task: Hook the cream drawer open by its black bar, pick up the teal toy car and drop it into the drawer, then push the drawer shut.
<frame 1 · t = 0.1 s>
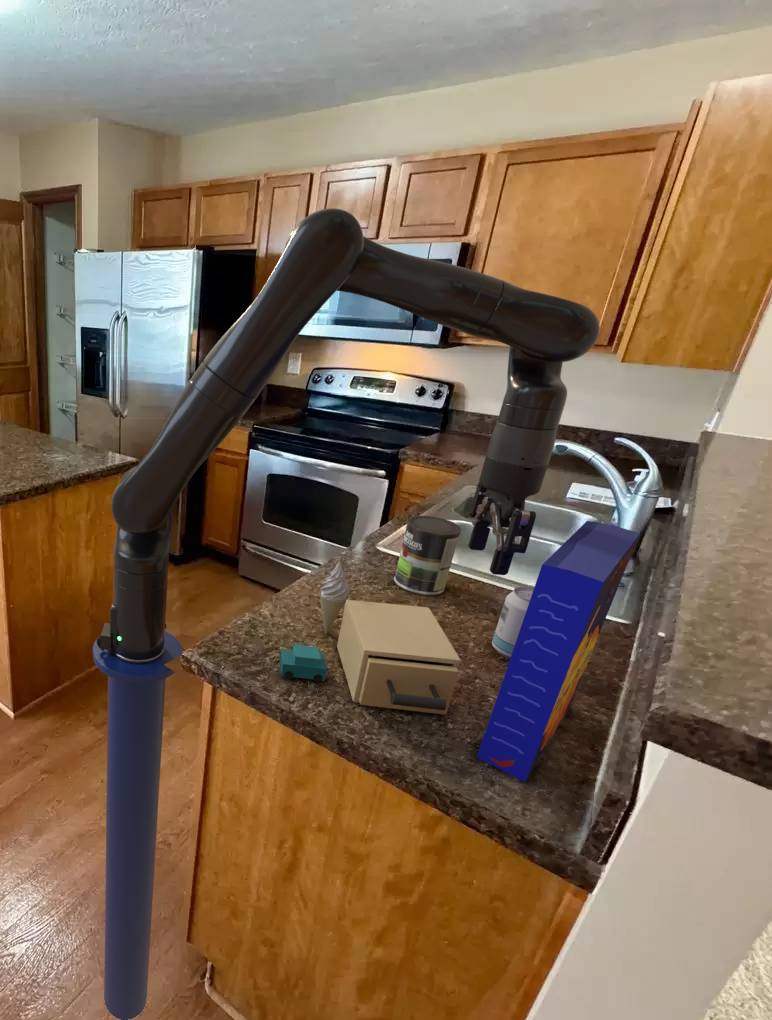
hand: (486, 561, 89), 22 cm above the counter, tool pointing down, fingers open, 8 cm apart
drawer: (400, 669, 93), point 5 cm above the counter, slide at 0.5 cm
ice cream cone: (326, 633, 111), on the counter
cabinet: (386, 676, 99), on the counter
toy car: (301, 672, 99), on the counter
coffee can: (418, 584, 130), on the counter
cereal box: (524, 733, 87), on the counter
beverage can: (512, 654, 106), on the counter
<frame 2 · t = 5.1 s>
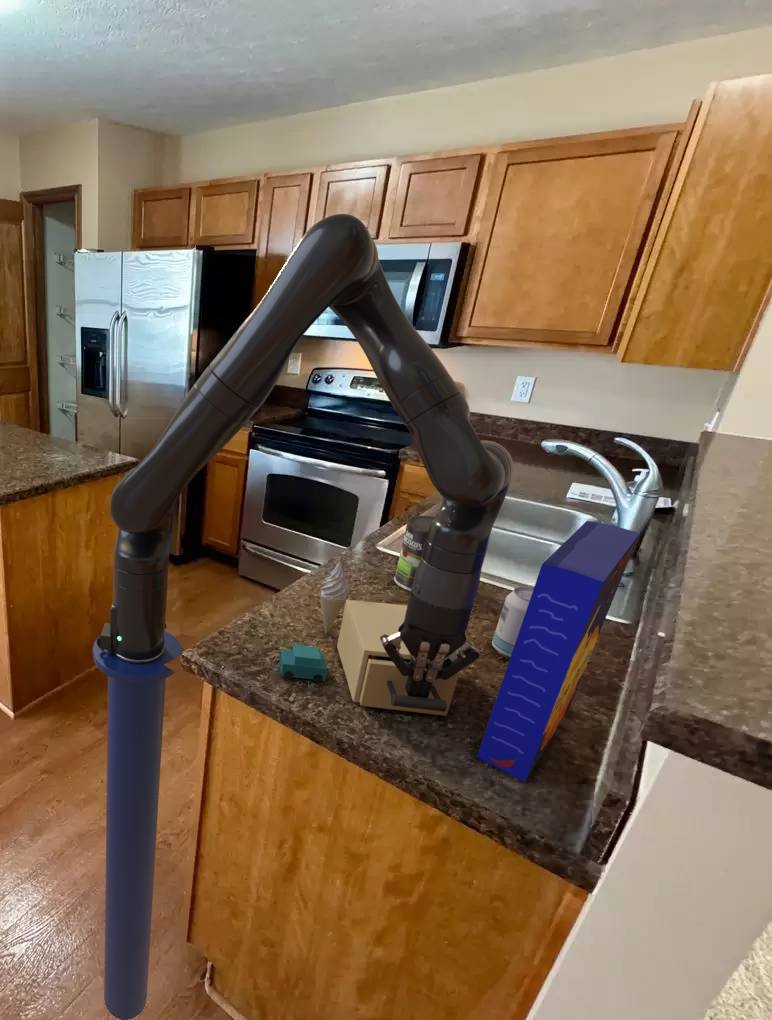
hand: (415, 697, 86), 5 cm above the counter, tool pointing down, fingers closed
drawer: (400, 670, 92), point 5 cm above the counter, slide at 0.8 cm, touching gripper
everything else where it was.
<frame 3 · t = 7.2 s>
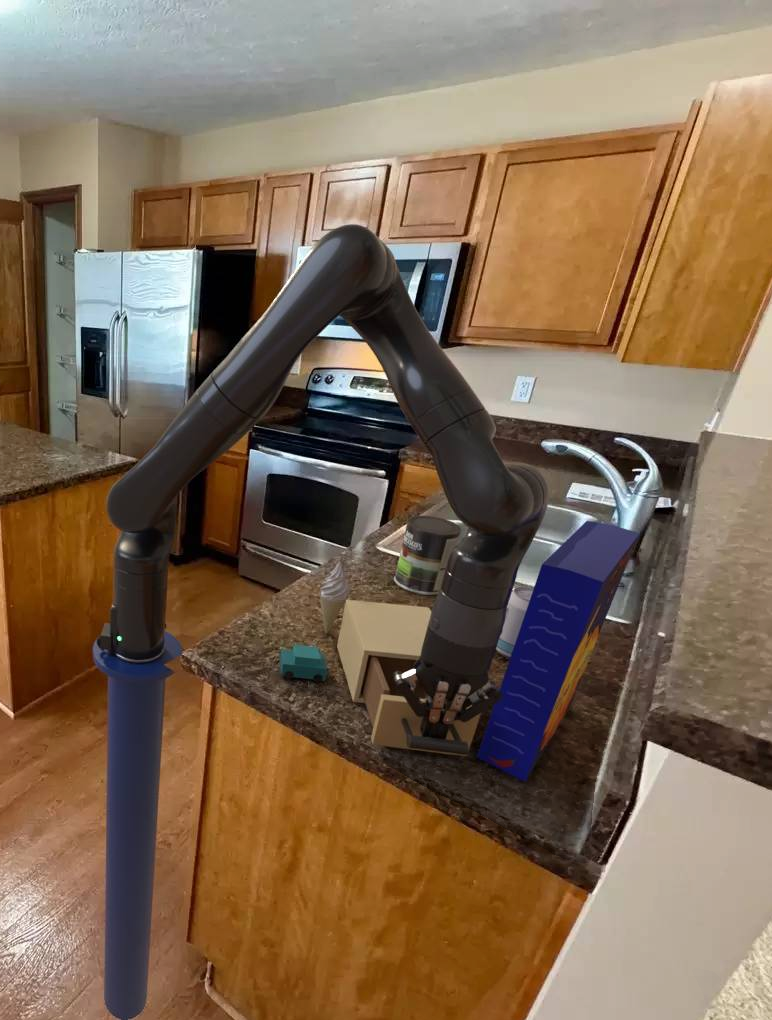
hand: (430, 739, 78), 5 cm above the counter, tool pointing down, fingers closed
drawer: (415, 705, 85), point 5 cm above the counter, slide at 9.1 cm, touching gripper
everything else where it was.
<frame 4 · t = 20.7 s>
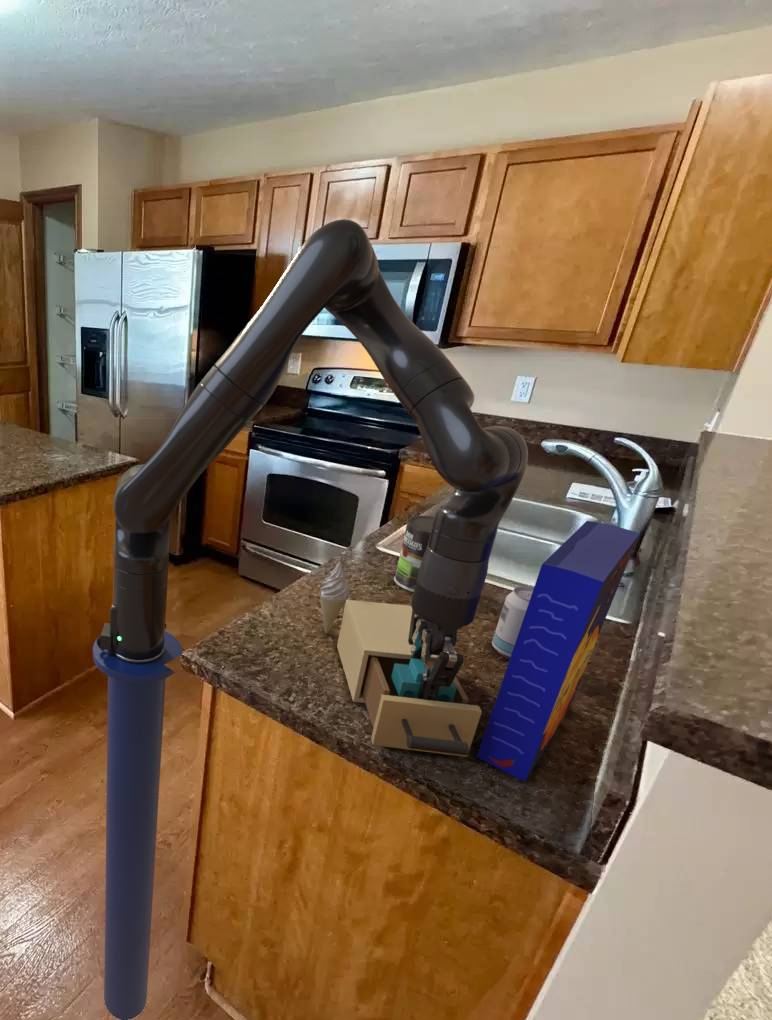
hand: (420, 689, 84), 8 cm above the counter, tool pointing down, fingers closed on toy car, 4 cm apart
drawer: (415, 706, 85), point 5 cm above the counter, slide at 9.2 cm
toy car: (420, 691, 84), point 7 cm above the counter, touching gripper
everything else where it was.
when the fingers open (9 cm above the counter, at t = 32.7 s): toy car drops 7 cm, resting on drawer.
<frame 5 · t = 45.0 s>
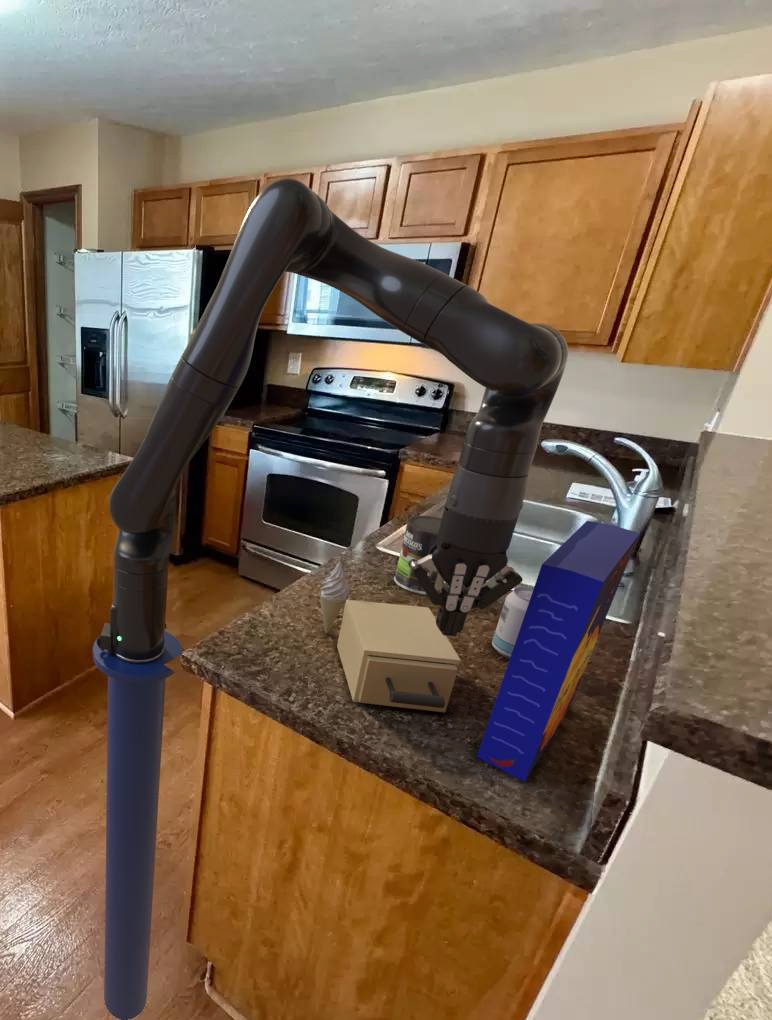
hand: (446, 632, 76), 19 cm above the counter, tool pointing down, fingers closed
drawer: (399, 667, 93), point 5 cm above the counter, slide at 0.0 cm, touching cabinet, toy car
toy car: (395, 681, 94), point 2 cm above the counter, touching drawer
everything else where it was.
at the end: drawer pulled out 9.5 cm at the most during the clip, back to where it started at the end; toy car inside the target area in the cabinet (4.0 cm from its centre), point 2.0 cm above the cabinet's base; drawer slide at 0.0 cm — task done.
